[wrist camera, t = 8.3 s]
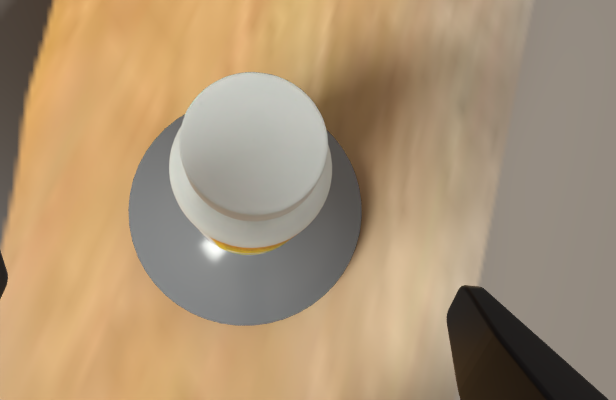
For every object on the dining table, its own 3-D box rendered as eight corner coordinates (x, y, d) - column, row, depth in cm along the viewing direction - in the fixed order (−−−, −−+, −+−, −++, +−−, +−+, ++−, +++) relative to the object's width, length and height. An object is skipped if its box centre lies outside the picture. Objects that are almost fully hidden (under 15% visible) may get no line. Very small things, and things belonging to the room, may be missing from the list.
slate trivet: (350, 330, 22) (355, 333, 21) (117, 315, 20) (111, 317, 19) (362, 118, 24) (367, 111, 23) (151, 92, 22) (147, 84, 21)
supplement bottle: (168, 205, 21) (102, 145, 11) (245, 124, 22) (243, 8, 12) (256, 280, 20) (264, 284, 11) (328, 195, 22) (390, 133, 12)
